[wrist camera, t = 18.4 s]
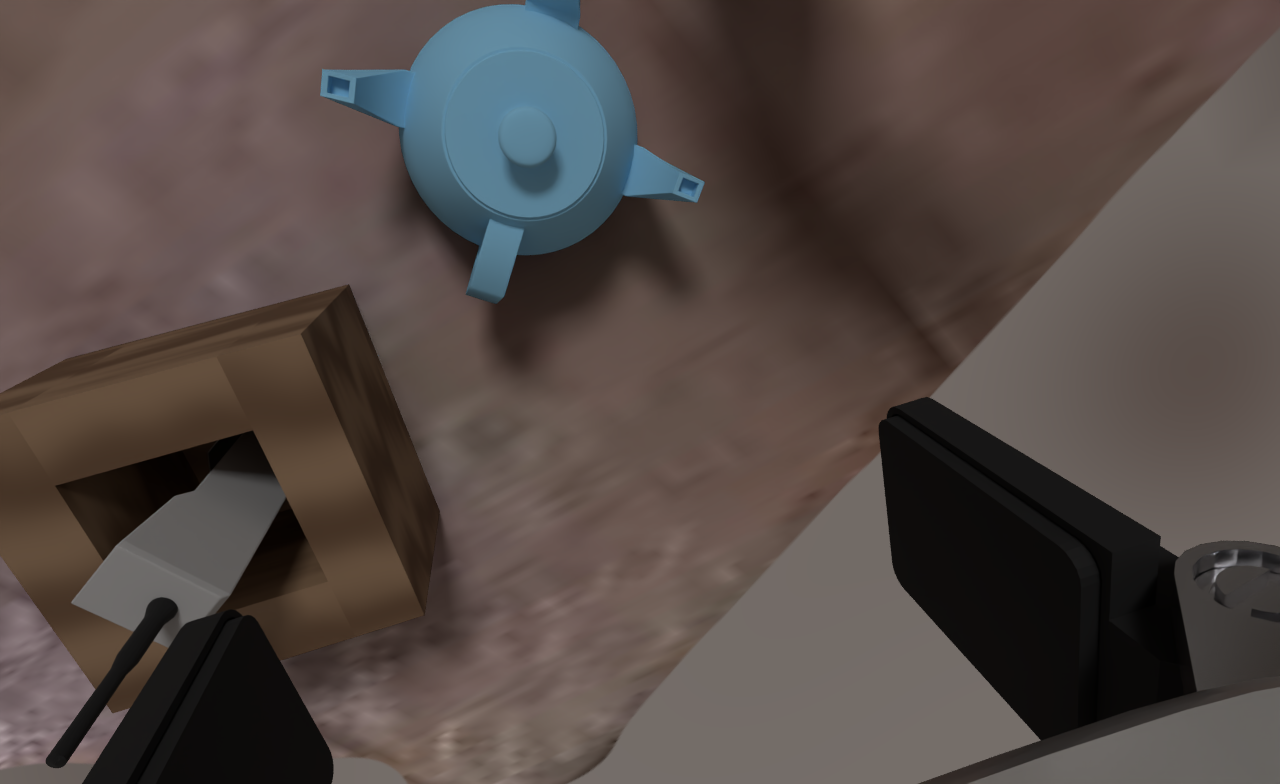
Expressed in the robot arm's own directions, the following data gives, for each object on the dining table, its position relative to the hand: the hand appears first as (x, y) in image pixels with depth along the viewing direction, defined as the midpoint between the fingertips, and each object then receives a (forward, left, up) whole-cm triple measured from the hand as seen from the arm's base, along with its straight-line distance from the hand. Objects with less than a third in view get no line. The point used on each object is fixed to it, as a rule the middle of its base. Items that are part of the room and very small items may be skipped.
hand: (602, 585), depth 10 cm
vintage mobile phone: (+9, -20, -38) cm, 43 cm away
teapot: (-6, +2, -39) cm, 39 cm away
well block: (+9, -20, -38) cm, 44 cm away
